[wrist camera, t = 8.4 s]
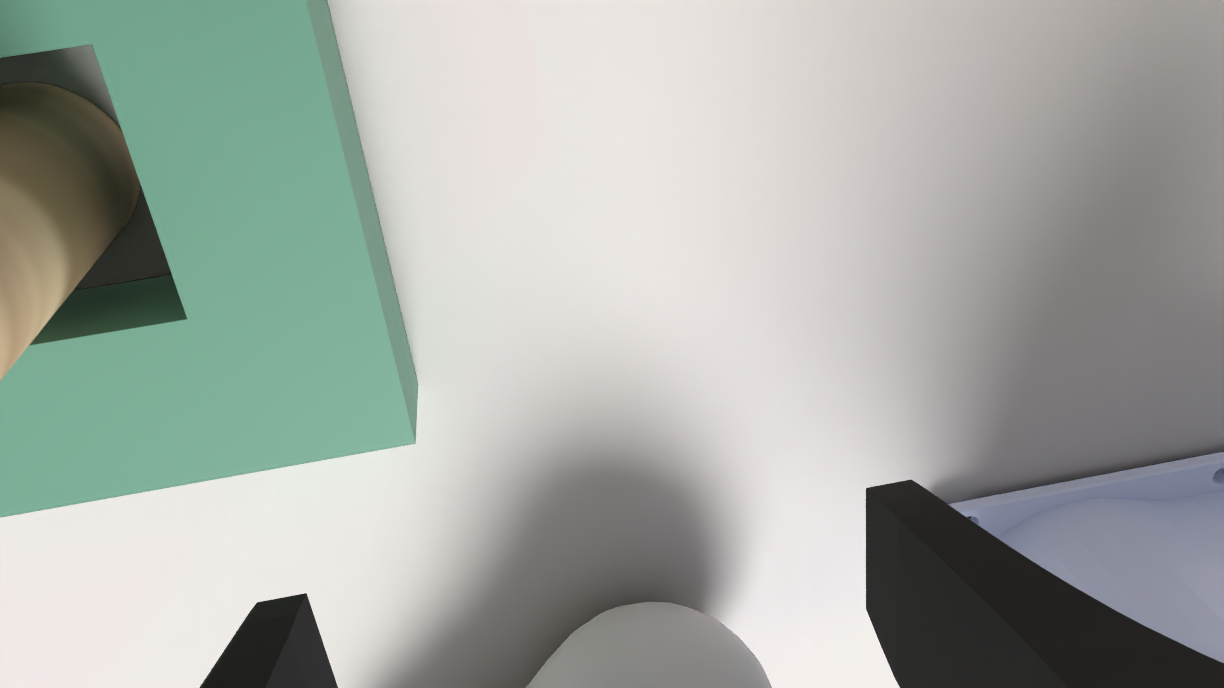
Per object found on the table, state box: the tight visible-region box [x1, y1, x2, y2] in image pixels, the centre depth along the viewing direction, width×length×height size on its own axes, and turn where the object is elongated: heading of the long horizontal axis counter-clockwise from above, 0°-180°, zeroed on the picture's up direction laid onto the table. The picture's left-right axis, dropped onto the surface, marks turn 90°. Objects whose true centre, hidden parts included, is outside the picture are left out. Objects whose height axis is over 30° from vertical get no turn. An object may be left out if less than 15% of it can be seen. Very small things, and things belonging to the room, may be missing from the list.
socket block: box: [0, 0, 418, 517], centre depth 19 cm, size 12×12×2 cm
